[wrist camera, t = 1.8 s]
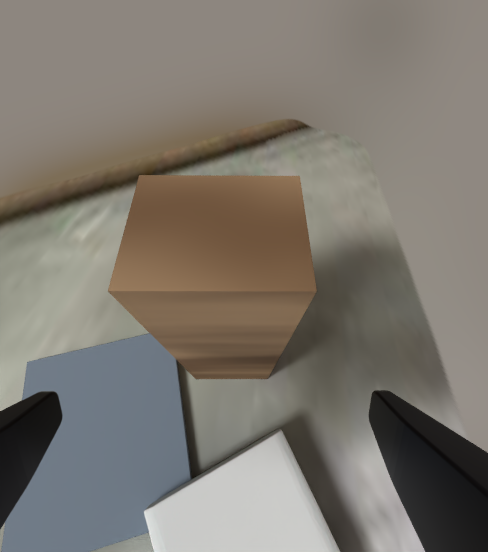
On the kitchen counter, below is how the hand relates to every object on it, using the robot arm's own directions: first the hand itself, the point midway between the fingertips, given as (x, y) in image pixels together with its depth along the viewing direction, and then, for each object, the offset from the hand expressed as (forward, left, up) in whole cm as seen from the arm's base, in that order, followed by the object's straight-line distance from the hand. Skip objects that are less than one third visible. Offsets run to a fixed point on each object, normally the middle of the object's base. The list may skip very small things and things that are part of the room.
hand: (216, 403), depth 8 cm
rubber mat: (+1, +8, -11) cm, 14 cm away
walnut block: (+4, -1, -11) cm, 12 cm away
